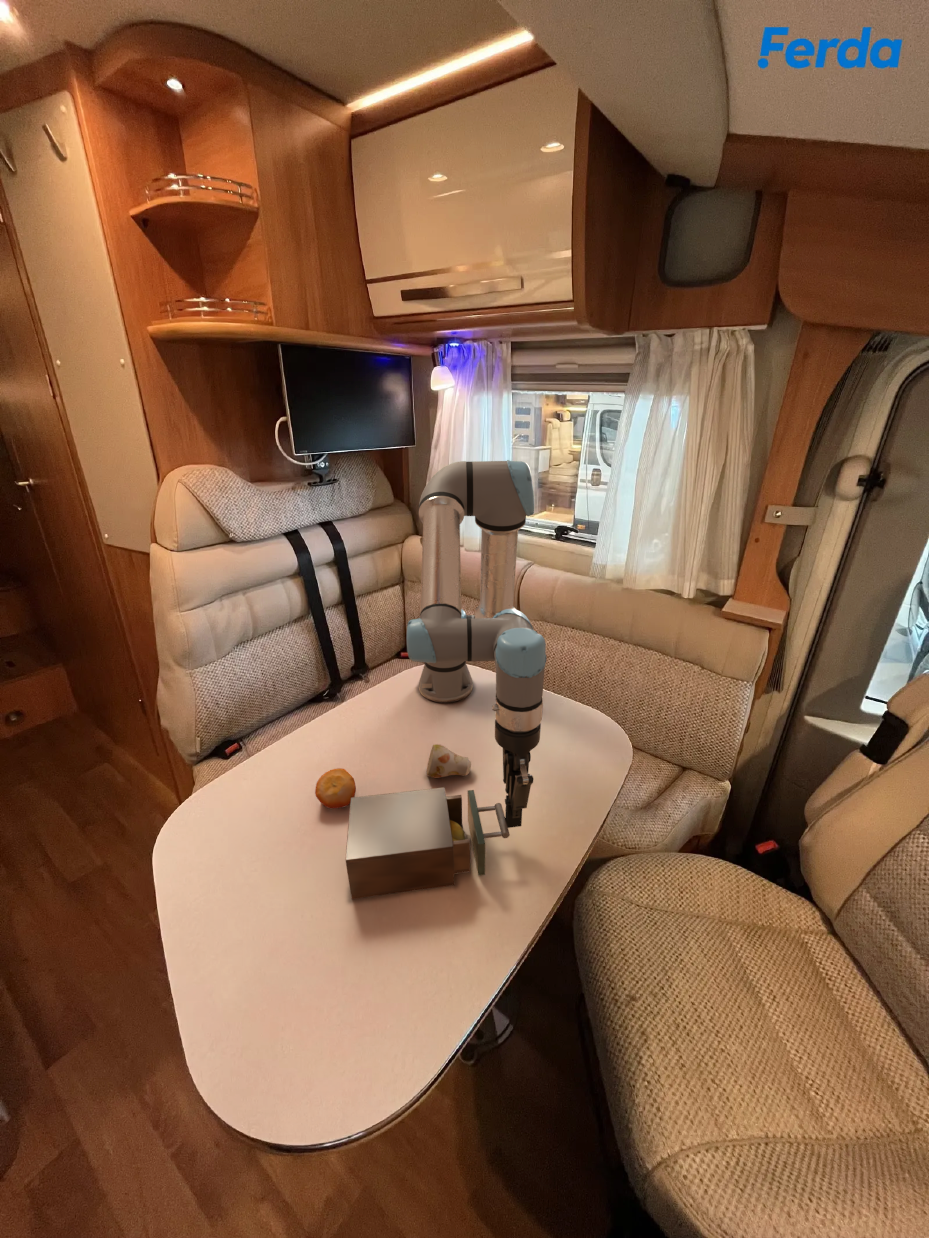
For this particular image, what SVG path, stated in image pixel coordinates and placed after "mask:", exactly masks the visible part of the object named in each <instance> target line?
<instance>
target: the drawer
mask: <svg viewBox="0 0 929 1238" xmlns="http://www.w3.org/2000/svg"><path fill="white" fill-rule="evenodd" d="M446 798H447V805H448V812H449V819H450V820H452V821H454V822H456V823H457V824H459V825H460V826H461V827H462V829H463V830H464V824H463V796H462V794H457V795H446ZM493 811H495V814H496V818H497V822H498V827H499V831H493V832H486V833H485V832H484V831H483V825H482V821H481V817H480V813H483V812H484V813H485V812H493ZM467 822H468V828H469V834H470V838H471V839H470V838H467V839H466V838H465V840H457V841H453V847H454V875H456V874H463V873H464V874H465V873H470V872H471V845H472V849H473V855H474V861H475V866H476V869H477V870H476V872H477V875H478V876H485V875H486V840H485V839H491V838H500V837H502V838H503V839H508V838H509V837H510V831H509V828H508V826H507V823H506V819H505V813H504V808H503V805H502V803H501V802H497V803H494V805H487V806H479V807H478V803H477V798H476V794H475V790H474V789H469V790H467Z"/></svg>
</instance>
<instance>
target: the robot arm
mask: <svg viewBox="0 0 929 1238" xmlns="http://www.w3.org/2000/svg"><path fill="white" fill-rule="evenodd" d="M534 513H535V493H534V483H533V477H532V472H531V468H530V466H529V464H528V463H527V462H525V461H521V460H520V461H519V460H518V461H517V460H509V459H506V460H476V461H473V460H472V461H466V460H460V461H455V462H452V463H449V464H447V465H445V466H444V467H442V468H441V469H440V470H438V471H437V472H436V473H435V474H434V475H433V476H432V477H431V478H430V480H429V481H428V482H427V483H426V485H425V487H424V489H423V491H422V493H421V494H420V498H419V504H418V518H419V520H420V522H421V523H422V548H421V549H422V550H421V574H420V575H421V576H420V599H419V600H420V603H419V604H420V605H419V617H418V618H415V619H410V620H409V621H408V622H407V627H406V652H407V656H408V658H409V660H410V661H412V662H416V663H424V665H423V667H422V671H421V674H420V678H419V682H418V690H419V693H420V694H421V696H423V697H424V698H425V699H427V700H429V701H431V702H435V703H453V702H458V701H461V700H464V699H465V698H466V697H468V696H469V695H470V694H471V693H472V691H473V688H474V687H473V683H474V681H473V677H472V675H471V673H470V670H469V667H468V664H467V662H475V663H476V662H494V665H495V666H494V667H495V704H493V705H491V707H492V709H491V710H492V711H493V712H495V719H494V739H495V742H496V743H497V745H499V747H500V748H502V777H503V778H502V781H503V784H504V785H505V789H504V791H505V793H506V795H505V798H504V804H505V813H504V815H505V819H506V823H507V826H508V829H511V828H516V827H517V828H519V827H522V823H523V809H528V808H527V807H528V803H529V797H530V793H531V787H532V785H533V784H534V776H533V775H532V774H531V773H530V772H529V770H530V769H529V768H530V762H531V756H532V755H531V751H532V750H534V749H535V748H536V747H537V746H538V745H539V744H540V739H541V727H542V719H543V706H544V705H543V704H544V698H543V694H544V682H545V681H544V680H545V671H546V670H545V669H546V663H547V659H548V658H547V654H546V651H547V649H546V648H547V646H546V645H547V643H546V640H545V638H544V636H543V635H542V634H540V633H538V632H537V631H536V630H535V629H534V627H533V625H532V623H531V621H530V619H529V618H528V616H527V615H526V614H524V613H523V612H522V611H520V610H518V609H516V607H514V598H515V597H514V596H515V583H516V569H517V554H518V541H519V530H521V529H522V528H523V527H525V525H526V521H527V517H530V516H533V515H534ZM465 517H474V522H475V525H476V526H477V527H479V529H481V533H480V536H481V537H480V538H481V539H480V588H479V589H480V592H479V604H478V606H476V608H475V609H474V612H473V614H472V615H471V614H467V613H466V612H465V610H464V609H462V574H461V573H462V572H461V571H462V570H461V569H462V568H461V565H462V563H461V528H460V527H461V526H460V525H461V524H462V523H463V522H464V518H465Z"/></svg>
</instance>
